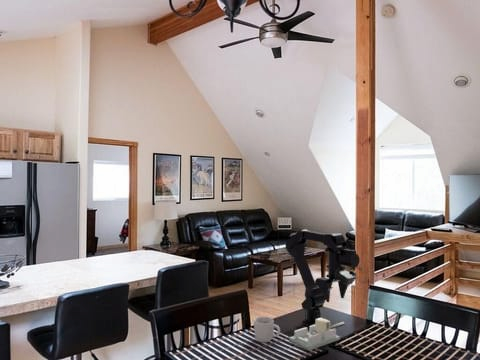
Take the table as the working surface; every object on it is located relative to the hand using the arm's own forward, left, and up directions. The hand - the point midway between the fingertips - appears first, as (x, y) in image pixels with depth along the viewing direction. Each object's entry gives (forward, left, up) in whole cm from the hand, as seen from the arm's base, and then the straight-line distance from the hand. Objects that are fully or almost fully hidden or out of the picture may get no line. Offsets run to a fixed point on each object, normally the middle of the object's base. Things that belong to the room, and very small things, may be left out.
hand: (335, 300), depth 162 cm
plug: (+2, -10, -12) cm, 16 cm away
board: (+1, -14, -13) cm, 19 cm away
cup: (-9, -30, -13) cm, 34 cm away
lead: (-3, +5, -13) cm, 14 cm away
